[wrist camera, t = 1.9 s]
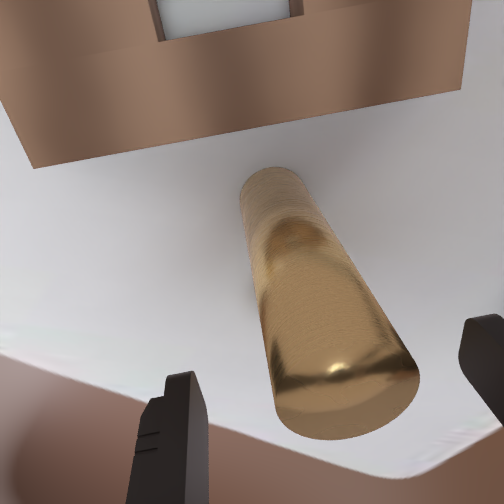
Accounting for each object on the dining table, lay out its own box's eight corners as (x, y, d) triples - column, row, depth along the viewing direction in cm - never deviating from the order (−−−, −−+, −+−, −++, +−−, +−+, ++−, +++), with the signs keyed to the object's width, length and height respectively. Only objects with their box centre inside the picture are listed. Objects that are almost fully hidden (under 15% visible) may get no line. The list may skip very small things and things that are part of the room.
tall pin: (302, 161, 21) (426, 328, 9) (308, 223, 23) (414, 426, 11) (234, 174, 21) (265, 357, 9) (245, 234, 23) (283, 450, 11)
